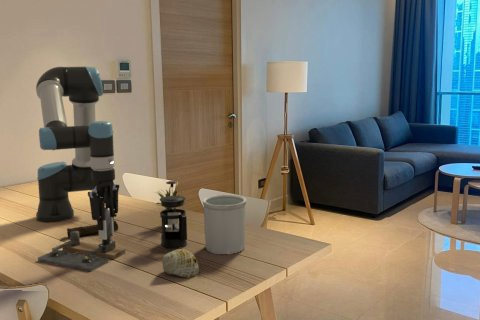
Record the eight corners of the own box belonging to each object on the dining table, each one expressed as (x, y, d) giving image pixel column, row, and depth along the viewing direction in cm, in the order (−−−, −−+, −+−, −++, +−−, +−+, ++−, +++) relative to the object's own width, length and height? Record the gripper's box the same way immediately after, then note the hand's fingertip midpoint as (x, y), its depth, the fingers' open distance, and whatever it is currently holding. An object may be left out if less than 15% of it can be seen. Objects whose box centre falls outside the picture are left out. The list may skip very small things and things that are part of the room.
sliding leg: (108, 246, 167) (106, 206, 164) (115, 247, 166) (113, 207, 163) (81, 259, 155) (79, 216, 153) (89, 260, 154) (86, 217, 151)
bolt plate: (56, 253, 166) (56, 249, 166) (108, 262, 157) (107, 258, 157) (37, 261, 159) (37, 257, 158) (91, 271, 150) (90, 267, 149)
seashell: (206, 270, 148) (193, 246, 143) (182, 291, 144) (167, 267, 139) (190, 259, 156) (177, 235, 151) (166, 278, 152) (152, 255, 147)
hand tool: (68, 240, 180) (67, 228, 179) (67, 237, 183) (66, 225, 183) (119, 232, 188) (119, 221, 187) (117, 229, 192) (116, 218, 191)
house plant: (156, 233, 186) (155, 192, 183) (146, 224, 198) (144, 185, 195) (191, 228, 192) (190, 187, 189) (179, 219, 204) (178, 181, 201)
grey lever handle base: (75, 244, 174) (74, 228, 173) (125, 253, 165) (124, 236, 164) (45, 257, 162) (44, 240, 161) (98, 267, 153) (97, 249, 152)
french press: (154, 244, 174) (151, 181, 170) (174, 238, 180) (172, 177, 177) (174, 252, 166) (172, 186, 162) (195, 245, 172) (194, 182, 169)
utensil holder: (237, 257, 160) (237, 206, 157) (196, 252, 165) (195, 202, 162) (252, 243, 174) (252, 196, 171) (213, 239, 179) (213, 192, 176)
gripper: (95, 174, 151) (99, 246, 155) (127, 165, 165) (130, 231, 169) (76, 172, 154) (81, 243, 158) (109, 163, 168) (113, 229, 172)
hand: (106, 237), depth 163 cm, fingers closed on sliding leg, 3 cm apart
